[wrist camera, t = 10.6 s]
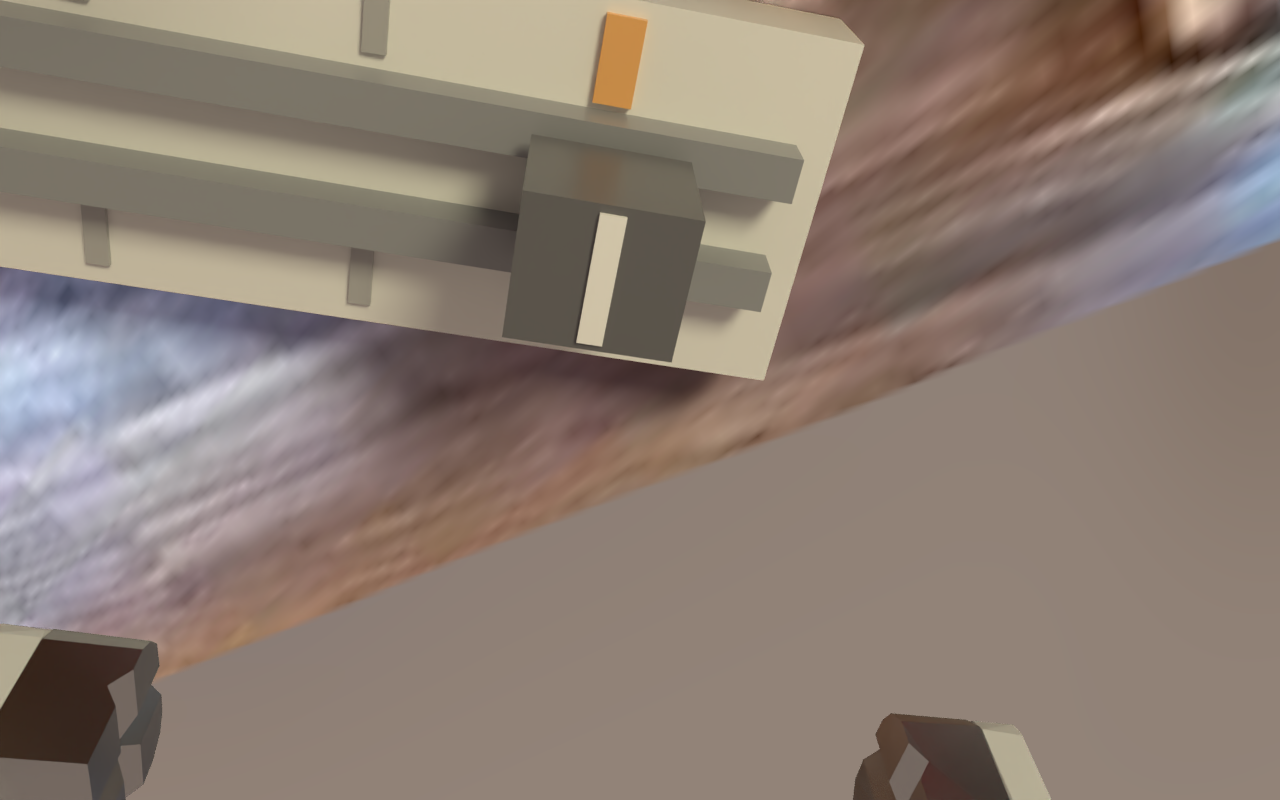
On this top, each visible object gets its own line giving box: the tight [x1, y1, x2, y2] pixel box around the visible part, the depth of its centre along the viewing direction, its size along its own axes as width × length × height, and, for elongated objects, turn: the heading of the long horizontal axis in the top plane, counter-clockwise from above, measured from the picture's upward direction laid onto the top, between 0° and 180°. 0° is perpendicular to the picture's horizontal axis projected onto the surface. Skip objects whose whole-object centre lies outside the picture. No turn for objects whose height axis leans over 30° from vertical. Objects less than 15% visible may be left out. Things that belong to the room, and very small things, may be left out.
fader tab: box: [502, 134, 706, 363], centre depth 25 cm, size 4×4×6 cm
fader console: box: [0, 0, 864, 380], centre depth 28 cm, size 24×10×4 cm, turn 79°
